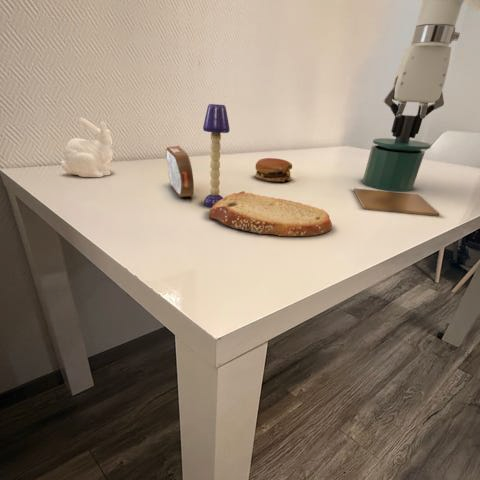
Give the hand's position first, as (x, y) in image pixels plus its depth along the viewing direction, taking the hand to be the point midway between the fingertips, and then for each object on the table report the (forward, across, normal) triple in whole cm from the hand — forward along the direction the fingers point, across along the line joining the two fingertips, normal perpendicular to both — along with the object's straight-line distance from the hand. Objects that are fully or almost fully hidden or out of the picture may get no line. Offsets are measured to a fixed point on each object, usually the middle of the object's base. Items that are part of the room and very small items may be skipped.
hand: (403, 136), depth 81 cm
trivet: (+11, +3, +17) cm, 21 cm away
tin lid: (+2, 0, 0) cm, 2 cm away
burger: (+11, +30, +5) cm, 33 cm away
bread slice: (+11, +30, +38) cm, 49 cm away
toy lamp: (+11, +40, +31) cm, 52 cm away
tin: (+11, +50, +25) cm, 56 cm away
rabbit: (+11, +72, +17) cm, 75 cm away
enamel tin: (+11, 0, 0) cm, 11 cm away
